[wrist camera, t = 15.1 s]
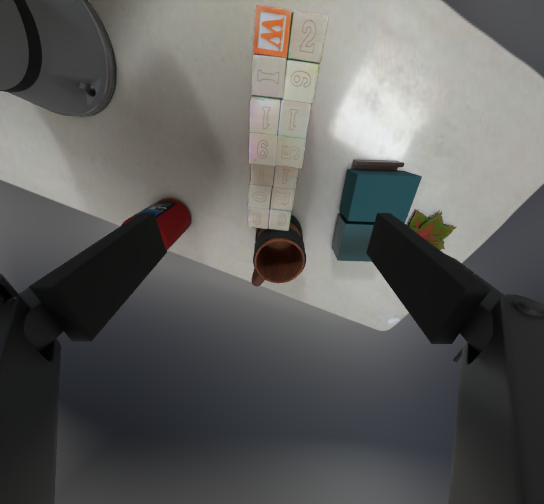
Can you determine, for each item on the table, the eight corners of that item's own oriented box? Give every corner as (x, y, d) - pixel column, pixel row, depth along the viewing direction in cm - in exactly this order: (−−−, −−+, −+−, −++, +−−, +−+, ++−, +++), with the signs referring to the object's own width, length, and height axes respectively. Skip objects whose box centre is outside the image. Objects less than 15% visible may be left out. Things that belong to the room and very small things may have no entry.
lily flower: (421, 270, 44) (435, 284, 40) (373, 252, 42) (383, 264, 38) (467, 221, 38) (488, 231, 35) (413, 197, 37) (429, 205, 33)
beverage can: (169, 189, 37) (126, 211, 27) (199, 215, 39) (171, 245, 29) (149, 213, 39) (103, 242, 29) (179, 237, 42) (146, 272, 31)
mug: (239, 249, 42) (227, 283, 32) (273, 200, 38) (271, 223, 27) (274, 269, 45) (273, 308, 34) (310, 226, 40) (321, 256, 29)
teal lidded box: (347, 159, 34) (358, 163, 29) (402, 161, 34) (423, 165, 29) (329, 250, 42) (336, 265, 38) (374, 251, 42) (386, 266, 38)
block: (347, 169, 34) (357, 174, 29) (403, 170, 34) (422, 176, 29) (339, 210, 37) (347, 221, 33) (390, 212, 37) (404, 223, 33)
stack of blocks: (286, 211, 38) (289, 241, 28) (252, 207, 38) (242, 236, 28) (310, 58, 28) (330, 12, 17) (264, 51, 28) (255, 1, 17)
